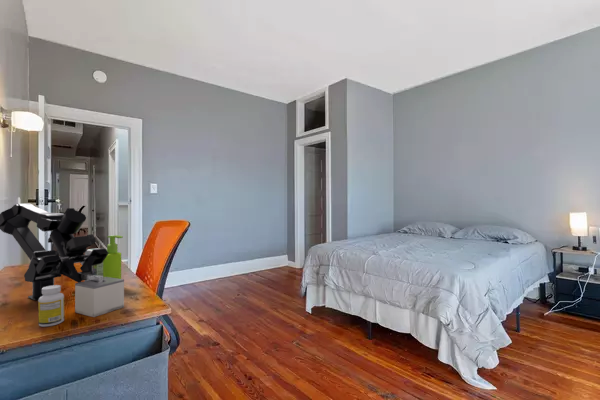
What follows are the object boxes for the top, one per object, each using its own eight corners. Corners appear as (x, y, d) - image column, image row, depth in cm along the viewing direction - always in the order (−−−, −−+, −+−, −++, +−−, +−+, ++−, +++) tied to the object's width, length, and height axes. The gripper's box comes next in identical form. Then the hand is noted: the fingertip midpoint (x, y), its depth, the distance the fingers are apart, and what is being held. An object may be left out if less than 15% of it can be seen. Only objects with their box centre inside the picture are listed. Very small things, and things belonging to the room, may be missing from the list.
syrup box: (83, 287, 116) (83, 249, 116) (99, 283, 121) (99, 247, 121) (93, 289, 113) (93, 250, 114) (109, 285, 119) (109, 248, 119)
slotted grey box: (75, 312, 90) (75, 283, 90) (105, 303, 98) (105, 276, 98) (93, 317, 86) (94, 286, 86) (123, 307, 94) (124, 279, 94)
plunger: (75, 298, 95) (75, 272, 95) (85, 295, 97) (85, 271, 97) (96, 303, 90) (96, 276, 90) (106, 300, 93) (106, 274, 93)
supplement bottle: (48, 319, 84) (48, 284, 84) (69, 319, 85) (69, 283, 85) (32, 327, 79) (33, 290, 79) (55, 326, 79) (55, 289, 79)
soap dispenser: (115, 290, 111) (115, 236, 112) (99, 289, 113) (99, 236, 113) (127, 286, 117) (127, 234, 117) (111, 285, 119) (112, 234, 119)
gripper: (41, 229, 89) (62, 270, 84) (105, 225, 106) (126, 259, 101) (27, 254, 92) (46, 295, 87) (91, 246, 109) (110, 280, 104)
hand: (85, 280), depth 95 cm, fingers closed on plunger, 3 cm apart
